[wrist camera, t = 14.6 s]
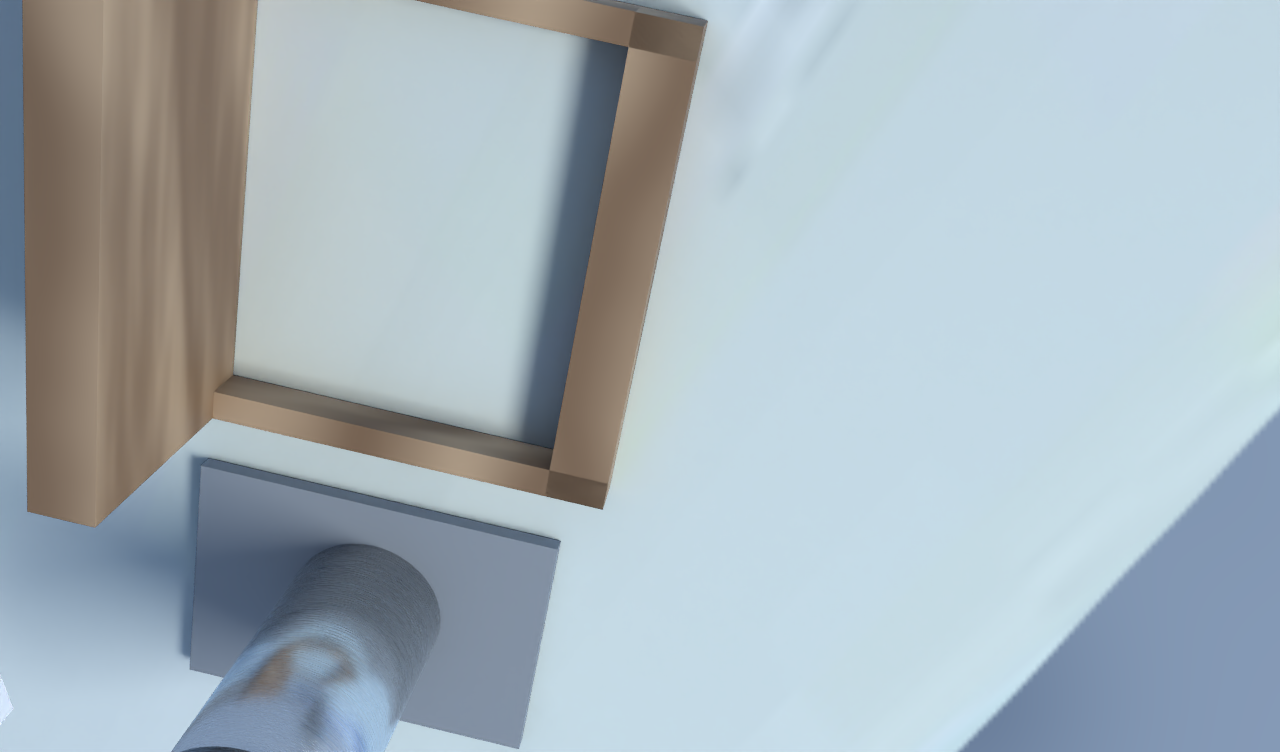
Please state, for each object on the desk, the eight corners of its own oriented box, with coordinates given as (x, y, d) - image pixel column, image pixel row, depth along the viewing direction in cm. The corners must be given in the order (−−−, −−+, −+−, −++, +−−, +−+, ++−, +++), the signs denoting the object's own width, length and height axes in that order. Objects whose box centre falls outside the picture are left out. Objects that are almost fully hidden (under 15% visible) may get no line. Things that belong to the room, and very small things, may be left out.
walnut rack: (708, 20, 36) (679, 66, 28) (609, 488, 42) (562, 639, 34) (198, -91, 36) (21, -79, 28) (176, 387, 43) (27, 511, 35)
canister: (454, 561, 43) (338, 795, 32) (434, 693, 46) (319, 952, 35) (294, 523, 44) (125, 744, 33) (282, 656, 46) (120, 904, 35)
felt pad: (560, 540, 43) (557, 549, 43) (521, 738, 47) (518, 749, 46) (208, 458, 44) (200, 465, 43) (196, 660, 47) (189, 669, 47)
